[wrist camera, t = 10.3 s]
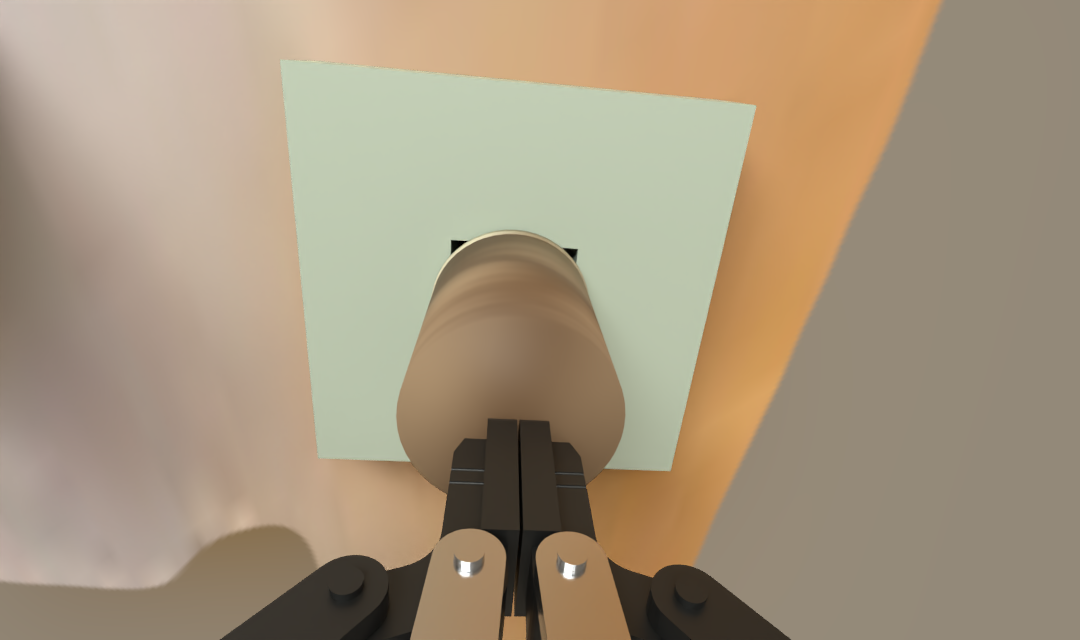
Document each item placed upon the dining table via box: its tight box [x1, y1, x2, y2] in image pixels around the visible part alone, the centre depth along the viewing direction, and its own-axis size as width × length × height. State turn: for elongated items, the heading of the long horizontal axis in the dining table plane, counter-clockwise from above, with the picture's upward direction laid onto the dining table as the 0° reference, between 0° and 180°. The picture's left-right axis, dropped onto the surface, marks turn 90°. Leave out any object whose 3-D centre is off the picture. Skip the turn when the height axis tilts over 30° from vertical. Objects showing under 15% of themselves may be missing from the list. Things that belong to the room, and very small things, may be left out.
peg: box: [396, 230, 625, 494], centre depth 20 cm, size 6×6×12 cm
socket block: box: [280, 60, 756, 471], centre depth 24 cm, size 16×16×4 cm
